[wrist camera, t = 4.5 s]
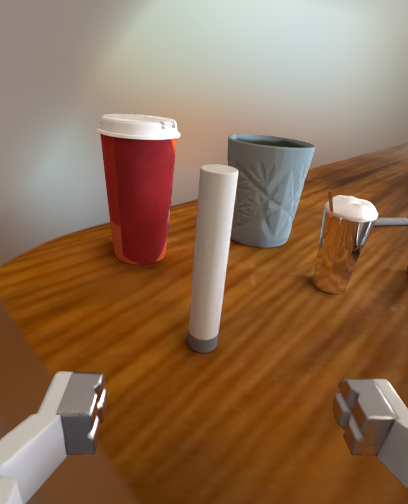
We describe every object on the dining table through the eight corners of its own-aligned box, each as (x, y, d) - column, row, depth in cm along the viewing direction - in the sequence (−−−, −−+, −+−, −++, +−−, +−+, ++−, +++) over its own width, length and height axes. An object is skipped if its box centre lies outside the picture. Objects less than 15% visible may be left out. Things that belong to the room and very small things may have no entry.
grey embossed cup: (207, 237, 42) (216, 138, 37) (232, 214, 51) (242, 130, 46) (287, 257, 39) (310, 151, 34) (300, 229, 48) (319, 141, 42)
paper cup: (187, 249, 39) (195, 120, 33) (147, 277, 33) (147, 125, 27) (134, 232, 42) (132, 112, 36) (87, 255, 36) (75, 114, 30)
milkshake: (290, 278, 35) (311, 183, 30) (330, 271, 37) (356, 181, 32) (319, 303, 31) (349, 199, 27) (362, 294, 33) (396, 196, 29)
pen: (344, 224, 51) (346, 216, 50) (432, 223, 55) (435, 215, 54) (349, 228, 50) (351, 219, 49) (439, 226, 54) (442, 218, 53)
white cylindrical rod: (213, 356, 24) (235, 175, 18) (184, 349, 24) (196, 169, 19) (219, 336, 26) (240, 167, 20) (191, 330, 26) (205, 162, 21)
